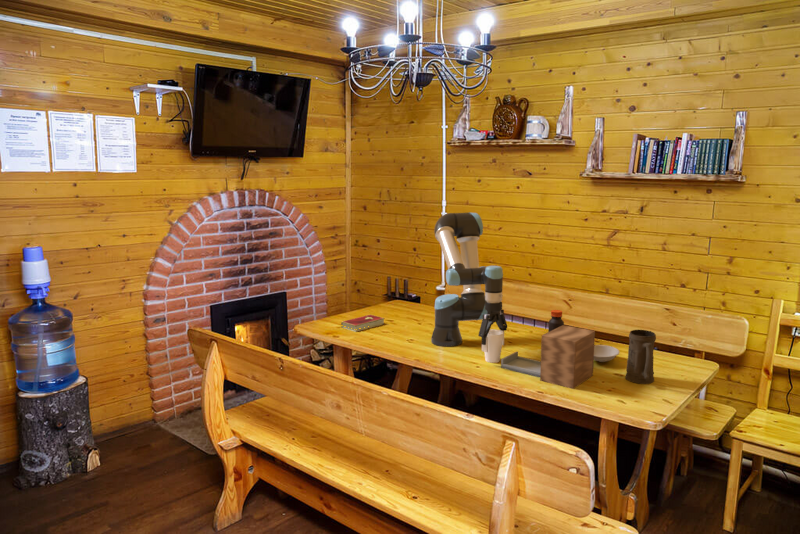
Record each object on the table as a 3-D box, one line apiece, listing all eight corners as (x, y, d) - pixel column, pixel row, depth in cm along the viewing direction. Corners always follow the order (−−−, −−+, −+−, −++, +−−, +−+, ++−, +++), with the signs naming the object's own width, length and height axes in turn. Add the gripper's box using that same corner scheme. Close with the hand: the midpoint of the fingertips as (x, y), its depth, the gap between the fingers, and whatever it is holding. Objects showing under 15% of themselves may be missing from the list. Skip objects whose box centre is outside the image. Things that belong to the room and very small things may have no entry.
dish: (612, 370, 245) (613, 359, 244) (579, 364, 252) (579, 353, 252) (623, 358, 259) (623, 348, 258) (590, 353, 267) (591, 342, 266)
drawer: (501, 367, 249) (501, 358, 248) (516, 360, 259) (516, 351, 258) (543, 378, 236) (544, 369, 235) (557, 369, 246) (558, 360, 245)
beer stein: (619, 374, 240) (623, 328, 235) (644, 373, 241) (649, 327, 236) (637, 390, 225) (642, 342, 220) (664, 389, 226) (669, 341, 221)
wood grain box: (540, 380, 234) (541, 335, 231) (561, 367, 248) (562, 325, 245) (573, 388, 225) (575, 341, 222) (592, 375, 239) (595, 331, 236)
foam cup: (502, 364, 253) (503, 335, 251) (481, 363, 255) (481, 334, 253) (503, 357, 262) (503, 329, 260) (482, 356, 264) (483, 328, 262)
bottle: (554, 356, 263) (556, 313, 260) (544, 352, 269) (545, 310, 266) (565, 353, 266) (567, 311, 263) (555, 349, 272) (557, 308, 269)
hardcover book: (341, 328, 313) (341, 321, 313) (370, 321, 328) (370, 313, 327) (355, 332, 305) (355, 325, 304) (384, 325, 319) (384, 317, 319)
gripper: (485, 307, 242) (485, 356, 245) (515, 297, 261) (514, 343, 264) (470, 305, 247) (470, 352, 250) (501, 295, 266) (500, 340, 269)
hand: (493, 348), depth 257 cm, fingers open, 13 cm apart
